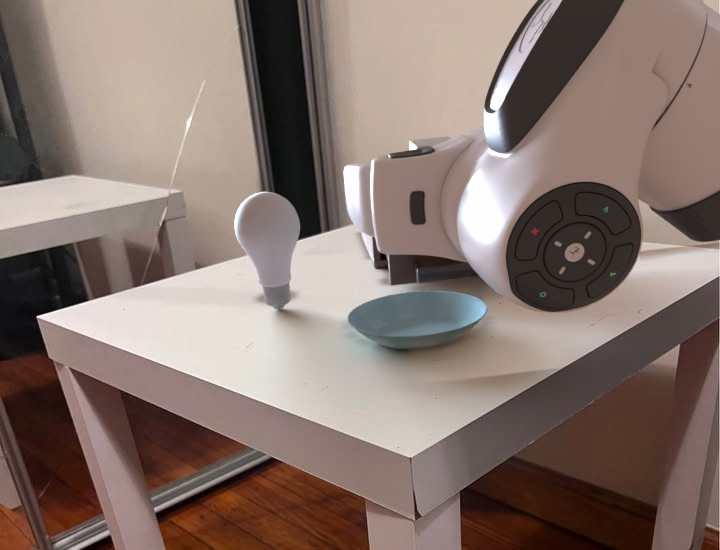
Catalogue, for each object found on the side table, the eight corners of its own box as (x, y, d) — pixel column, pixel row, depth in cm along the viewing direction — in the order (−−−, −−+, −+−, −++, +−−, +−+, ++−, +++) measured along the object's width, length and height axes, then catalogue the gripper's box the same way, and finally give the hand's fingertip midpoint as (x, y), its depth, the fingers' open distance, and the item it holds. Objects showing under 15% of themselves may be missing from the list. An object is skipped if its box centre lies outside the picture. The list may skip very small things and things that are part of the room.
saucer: (321, 346, 66) (318, 320, 65) (407, 306, 73) (406, 282, 72) (431, 373, 59) (430, 345, 58) (514, 326, 66) (514, 300, 65)
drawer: (513, 284, 73) (514, 243, 71) (396, 297, 73) (393, 257, 71) (473, 241, 88) (473, 207, 86) (375, 252, 88) (373, 218, 86)
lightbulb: (295, 320, 72) (278, 198, 67) (237, 318, 74) (217, 200, 69) (319, 299, 77) (305, 184, 72) (264, 298, 79) (247, 186, 74)
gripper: (649, 131, 52) (580, 113, 64) (350, 162, 51) (336, 138, 63) (640, 227, 55) (575, 192, 67) (358, 257, 54) (343, 217, 66)
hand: (457, 166), depth 65 cm, fingers open, 8 cm apart
